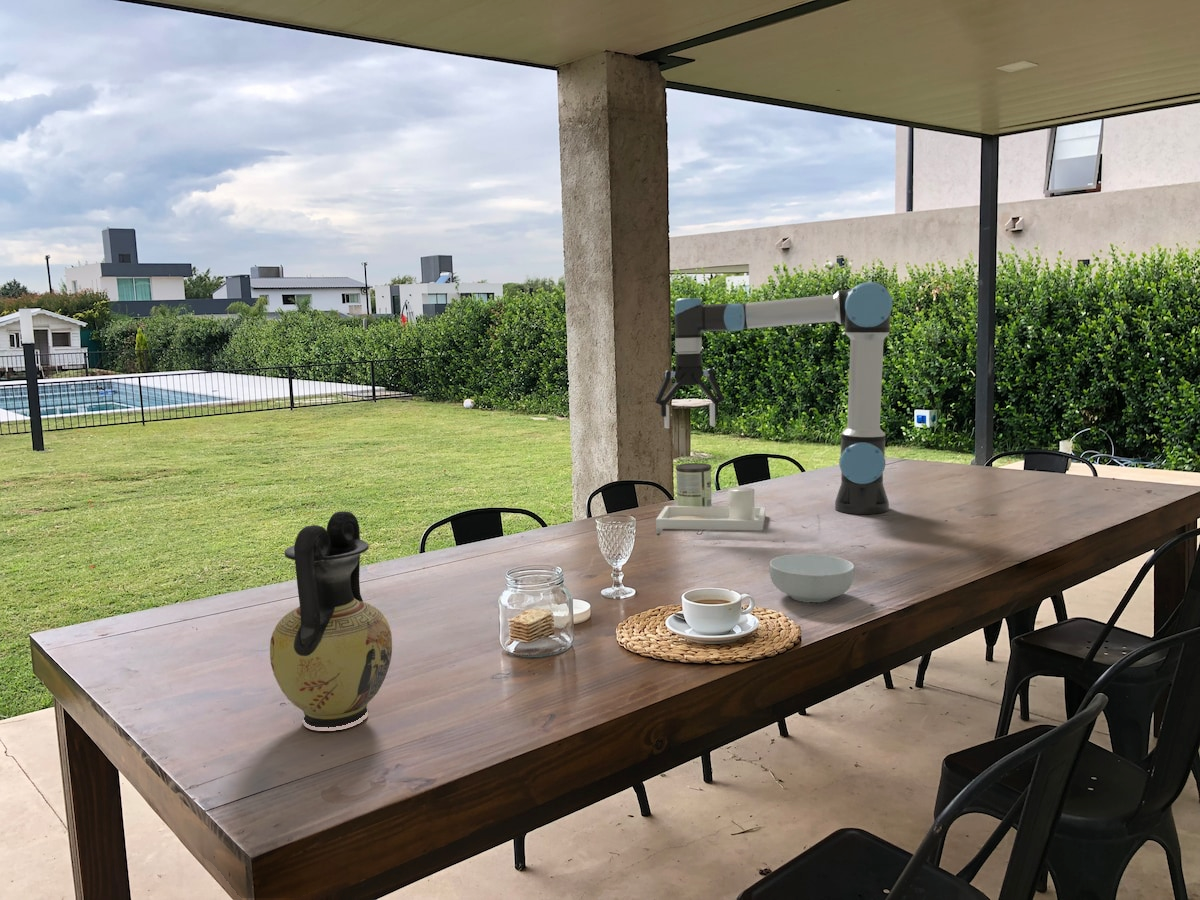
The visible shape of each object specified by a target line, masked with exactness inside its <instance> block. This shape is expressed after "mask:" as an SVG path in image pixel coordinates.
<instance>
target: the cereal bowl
mask: <svg viewBox="0 0 1200 900" xmlns="http://www.w3.org/2000/svg"><path fill="white" fill-rule="evenodd" d="M769 576H770V580H771V582H772V584H773V586H775V588H776V589H778V590H779V591H780V592H781V593H784V594H786V595H787V596H790V598H792V599H793V600H795V601H797V602H802V601H803V602H802V603H810V602H814V604H815V602H817V603H825V602H828V601H830V600H832V599H833V598H836V597H839V596H841V595H843V594H845V593H846V592H847V591H849V589H850V588H851V586H852V585H853V582H854V578H855V565H854V564H853V562H851V561H849V560H847V559H845V558H842V557H838V556H833V555H824V554H815V553H813V554H812V553H811V554H810V553H796V554H795V553H794V554H785V555H781V556H780V555H779V556H777V557H774V558H773V559H771V560H770V561H769ZM824 601H825V602H824Z"/></svg>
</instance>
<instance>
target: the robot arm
mask: <svg viewBox="0 0 1200 900" xmlns="http://www.w3.org/2000/svg"><path fill="white" fill-rule="evenodd" d="M892 308H893V299H892V296H891V294H890V292H889V290H888V289H887V288H886V287H885V286H884V285H882V284H881V283H878V282H874V281H866V282H860V283H859V284H857V285H855V286H854V287H853V288H849V289H843V290H837V291H836V292H835V293H834V294H825V295H817V296H816V295H815V296H807V297H795V298H793V297H792V298H784V299H774V300H767V301H766V300H763V301H754V302H753V301H752V302H744V303H743V302H742V303H733V302H732V303H719V304H717V303H715V304H703V303H702V299H701V298H699V297H686V298H685V297H683V298H681V297H680V298H677V299H676V300H675V302H674V315H673V316H674V333H675V334H674V336H675V337H674V338H675V340H674V342H675V343H674V344H675V346H674V347H675V348H674V349H675V350H674V351H675V353H676V354H675V356H674V357H675V370H674V371H672V370H665V371H664V374H663V375H664V377H663V381H661V384H660V387H659V389H658V391H657V393H656V396H655V398H654V400H653V402H654V403H655V404H657V405H660V416H661V417H663V418H664V419H663V420H664V424H663V425H664V427H663V428H664V429H670V406H669V405H668V403H669V402H670V400H671V399H672V398H673V397H674V395H675V394H676V392H678V390H679V389H680V388H681V387H682V386H685V387H688V386H692V387H693V386H694V387H695V386H696V385H697V387H699V388H700V389H701V391H702V392H703V393H704V394H705V395H706V396H707V398H709V400H710V401H711V402H709V426H711V427H716V415H718V413H719V403H720V402H723V401H725V396H724V394H723V392H722V390H721V387H719V385H718V382H717V381H716V378H715V377H714V370H713V369H712V368H707V369H703V355H702V353H701V352H702V351H703V350H702V349H703V346H702V345H703V342H702V341H703V340H702V332H736V331H742V330H746V329H747V330H748V329H758V328H769V327H770V328H772V327H782V326H783V327H784V326H793V325H808V324H819V323H820V324H821V323H831V322H836V323H837V324H839V325H845V328H844V334H845V335H846V337H848V338H849V340H850V341H849V343H850V344H849V345H850V346H849V349H850V350H849V369H848V370H849V373H848V374H849V376H848V397H847V398H848V399H847V400H848V401H847V426H846V428H845V429H844V430H842V432H841V438H840V457H839V468H840V471H841V473H840V475H841V480H840V481H841V482H840V486H839V488H838V492H837V495H836V497H835V502H834V509H835V510H836V511H838V512H840V513H846V514H854V515H877V514H884V513H887V512H888V511H889V510H890V503H889V498H888V496H887V495H888V494H887V493H886V492H887V491H886V490H885V485H884V471H885V468H886V459H885V454H886V452H885V451H886V433H885V432H884V431H883V430H882V429H881V409H882V407H881V406H882V389H883V388H882V386H883V385H882V383H883V362H884V357H883V356H884V340H885V339H886V338H887V337H888V335H890V332H891V312H892ZM703 376H705V377H706V378H707V380H708V382H709V384H710V386H711V388H712V390H713V391H714V393H713V392H712V391H711V390H710V389H709V387H708V385H706V384H705V382H704V381H703V380H702V378H703ZM673 377H675V379H676V380H675V382H674V383H673V384H672V386H671V388H670V389H669V390H668V391H667V392H666V390H667V389H668V387H669V384H670V382H671V379H672V378H673ZM665 392H666V394H665ZM714 394H715V395H714ZM664 395H665V396H664Z"/></svg>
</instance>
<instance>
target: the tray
mask: <svg viewBox="0 0 1200 900" xmlns="http://www.w3.org/2000/svg"><path fill="white" fill-rule="evenodd" d="M765 520H766V507H765V506H755V520H738V519H728V506H677V505H665V506H664V507H663V508H662V510H661V512H660V513H659V514H658V515H657V517H656V519H655V534H656V535H661V533H662V532H663V530H711V531H712V530H715V531H716V530H719V531H720V530H721V531H722V530H723V531H763V530H764V525H765Z"/></svg>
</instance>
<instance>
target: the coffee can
mask: <svg viewBox="0 0 1200 900" xmlns="http://www.w3.org/2000/svg"><path fill="white" fill-rule="evenodd" d="M675 471H676V473H675V474H676V501H677V502H676V504H677V505H676V506H712V464H708V463H704V462H703V463H701V462H699V463H698V462H695V463H694V462H693V463H692V462H690V463H681V464H677V465H676V466H675Z"/></svg>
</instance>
